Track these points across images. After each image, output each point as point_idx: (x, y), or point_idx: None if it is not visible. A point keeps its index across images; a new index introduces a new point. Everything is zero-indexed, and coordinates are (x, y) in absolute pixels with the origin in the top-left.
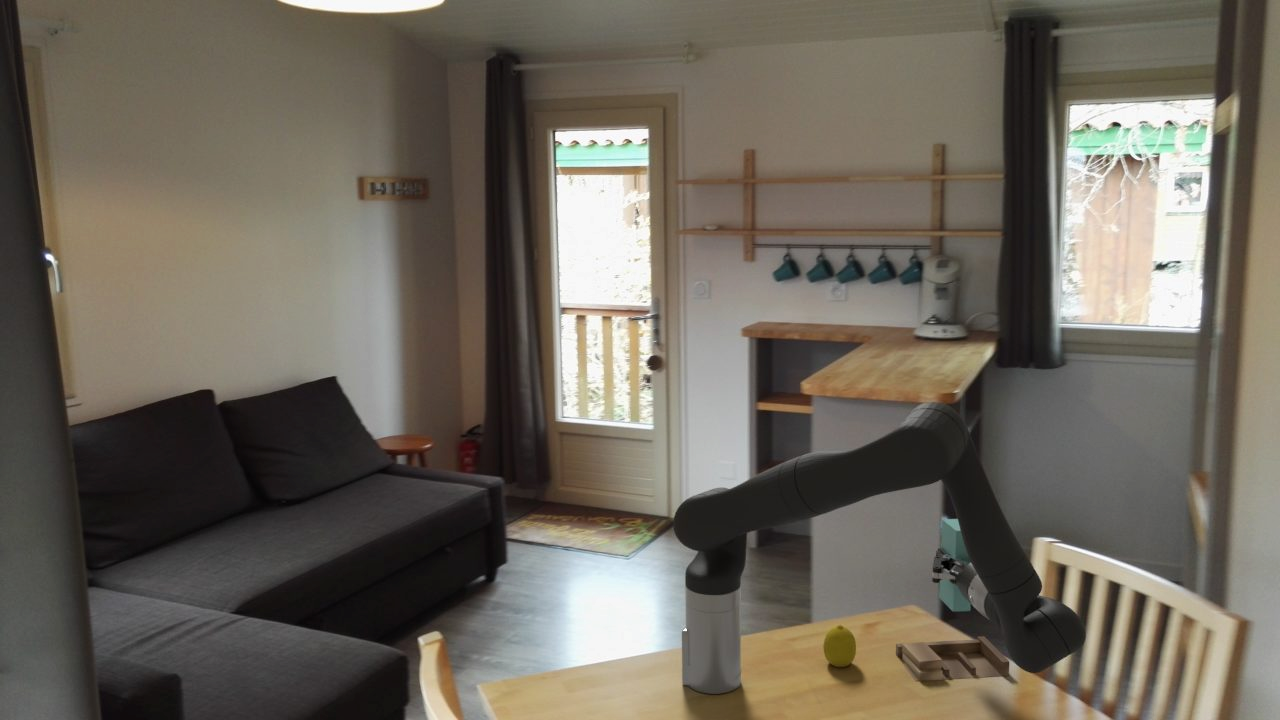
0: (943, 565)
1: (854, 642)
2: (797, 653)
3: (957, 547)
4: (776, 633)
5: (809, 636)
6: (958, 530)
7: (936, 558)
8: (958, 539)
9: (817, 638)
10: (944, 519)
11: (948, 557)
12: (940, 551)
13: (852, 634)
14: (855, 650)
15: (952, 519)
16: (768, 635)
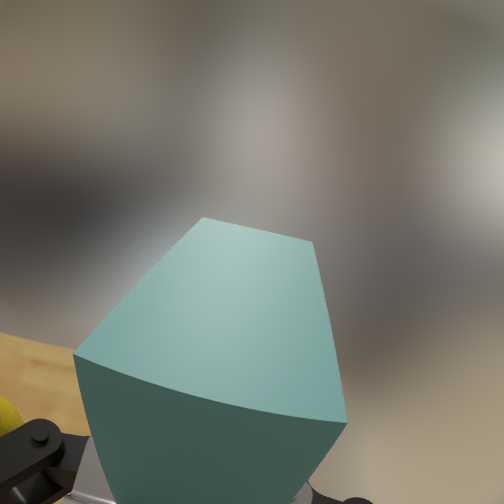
0: (71, 482)
1: None
2: (8, 389)
3: (122, 478)
4: (35, 344)
5: (60, 369)
6: (108, 360)
7: (19, 440)
8: (120, 441)
9: (63, 377)
10: (214, 220)
11: (95, 470)
12: None
13: (2, 426)
14: None
15: (264, 233)
16: (24, 343)
